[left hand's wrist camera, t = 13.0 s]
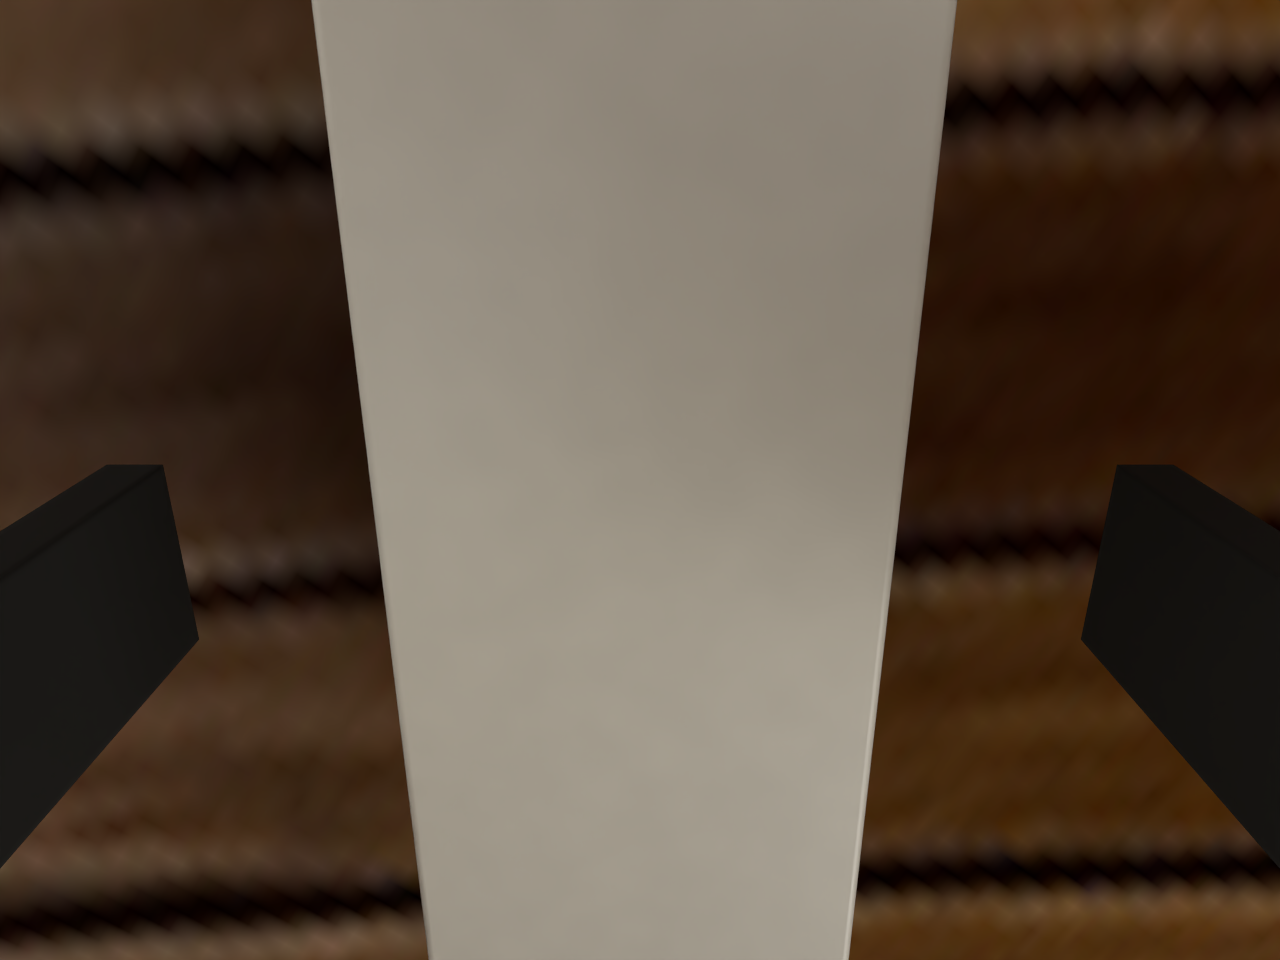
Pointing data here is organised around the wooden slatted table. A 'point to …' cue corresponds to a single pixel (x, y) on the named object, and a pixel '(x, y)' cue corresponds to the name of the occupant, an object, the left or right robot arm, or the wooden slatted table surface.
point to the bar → (636, 446)
